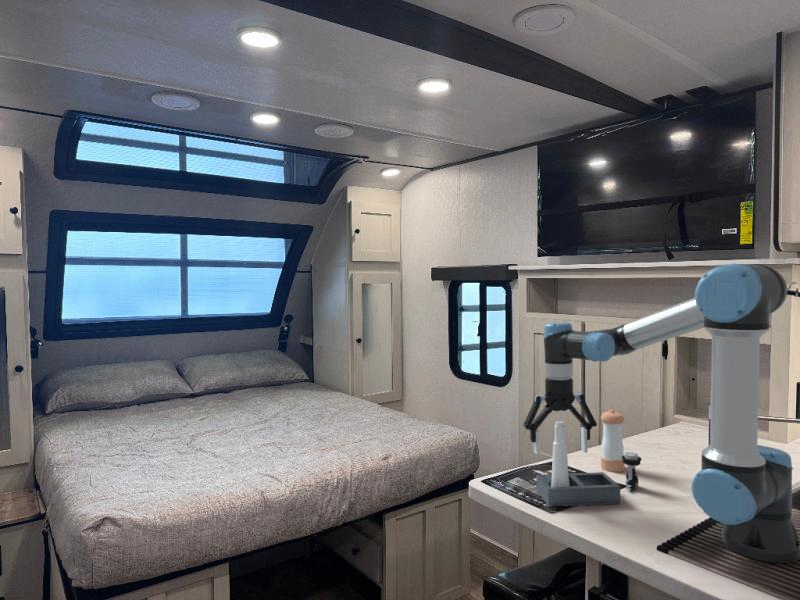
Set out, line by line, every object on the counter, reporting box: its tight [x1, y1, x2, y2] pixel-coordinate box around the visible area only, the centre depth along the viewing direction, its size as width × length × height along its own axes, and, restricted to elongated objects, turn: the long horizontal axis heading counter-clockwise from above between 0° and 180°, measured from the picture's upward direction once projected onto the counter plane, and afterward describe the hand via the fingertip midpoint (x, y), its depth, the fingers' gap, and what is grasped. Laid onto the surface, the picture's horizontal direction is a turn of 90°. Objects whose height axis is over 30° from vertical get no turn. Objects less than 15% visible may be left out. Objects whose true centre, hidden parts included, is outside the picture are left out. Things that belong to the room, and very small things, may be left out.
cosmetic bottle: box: [551, 420, 570, 487], centre depth 153 cm, size 6×6×22 cm
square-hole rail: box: [535, 471, 621, 508], centre depth 154 cm, size 20×11×5 cm, turn 92°
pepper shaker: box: [600, 409, 626, 473], centre depth 176 cm, size 7×7×19 cm
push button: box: [622, 452, 642, 491], centre depth 159 cm, size 7×5×10 cm
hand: (560, 452), depth 153 cm, fingers open, 13 cm apart
